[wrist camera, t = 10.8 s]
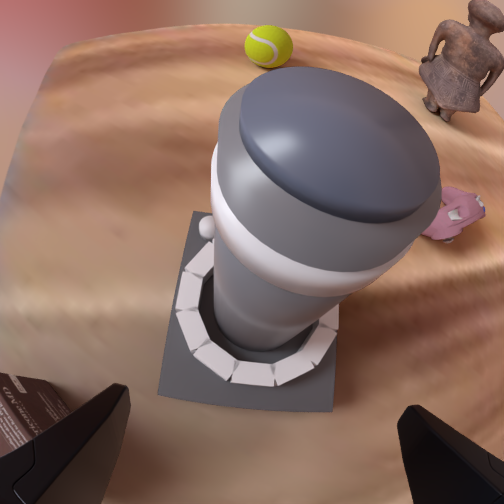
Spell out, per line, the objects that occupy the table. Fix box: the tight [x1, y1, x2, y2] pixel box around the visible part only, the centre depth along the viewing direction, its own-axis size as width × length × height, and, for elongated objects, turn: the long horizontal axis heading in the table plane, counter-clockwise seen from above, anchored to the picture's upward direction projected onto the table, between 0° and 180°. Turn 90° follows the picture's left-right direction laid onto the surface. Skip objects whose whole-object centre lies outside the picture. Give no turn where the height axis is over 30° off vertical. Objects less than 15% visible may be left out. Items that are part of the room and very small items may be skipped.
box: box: [0, 373, 72, 457], centre depth 11 cm, size 6×6×7 cm
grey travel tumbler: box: [211, 67, 442, 352], centre depth 11 cm, size 6×5×14 cm
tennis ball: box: [245, 25, 293, 68], centre depth 34 cm, size 7×7×7 cm
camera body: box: [158, 211, 339, 412], centre depth 18 cm, size 12×10×5 cm
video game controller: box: [421, 187, 485, 243], centre depth 25 cm, size 10×5×7 cm
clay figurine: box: [419, 0, 504, 121], centre depth 28 cm, size 13×10×25 cm
